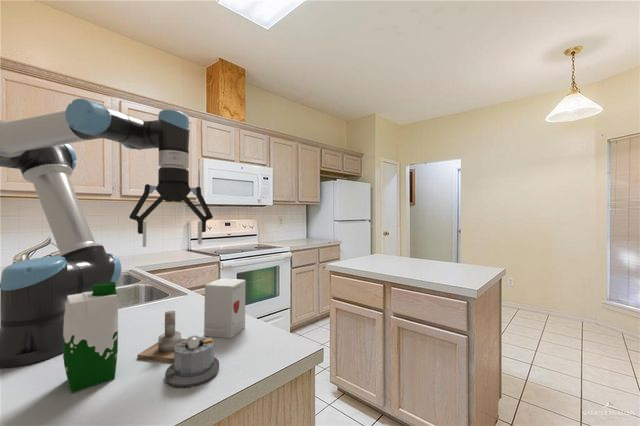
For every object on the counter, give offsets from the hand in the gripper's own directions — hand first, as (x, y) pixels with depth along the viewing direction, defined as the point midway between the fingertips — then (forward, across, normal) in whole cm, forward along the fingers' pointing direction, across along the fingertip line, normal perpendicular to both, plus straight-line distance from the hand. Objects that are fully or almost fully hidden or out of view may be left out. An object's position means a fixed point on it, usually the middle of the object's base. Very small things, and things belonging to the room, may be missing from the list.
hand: (173, 245), depth 79 cm
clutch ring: (+26, +3, -20) cm, 32 cm away
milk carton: (+27, -16, -11) cm, 33 cm away
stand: (+27, -1, -6) cm, 27 cm away
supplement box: (+27, +14, 0) cm, 31 cm away
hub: (+27, +3, -20) cm, 33 cm away
